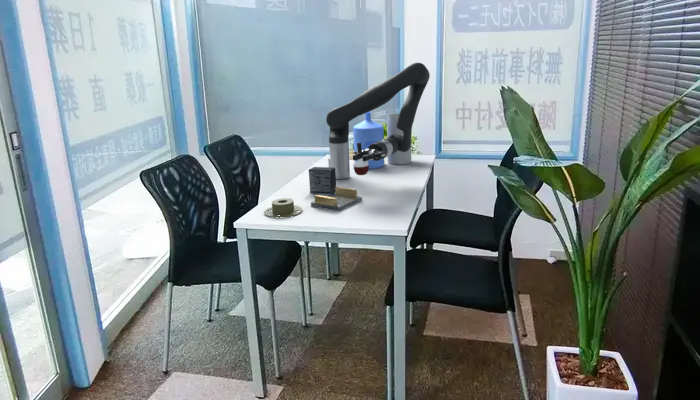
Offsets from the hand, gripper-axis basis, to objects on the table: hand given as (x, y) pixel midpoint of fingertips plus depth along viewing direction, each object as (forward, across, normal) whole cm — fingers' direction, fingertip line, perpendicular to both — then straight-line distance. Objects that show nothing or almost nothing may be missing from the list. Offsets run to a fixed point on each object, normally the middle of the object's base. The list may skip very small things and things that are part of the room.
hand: (358, 158), depth 214 cm
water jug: (-55, -30, +18) cm, 66 cm away
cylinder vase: (-69, -20, +18) cm, 74 cm away
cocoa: (-3, 0, +7) cm, 8 cm away
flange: (+26, -19, +18) cm, 37 cm away
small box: (-5, -23, +18) cm, 30 cm away
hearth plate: (+7, -7, +18) cm, 20 cm away
